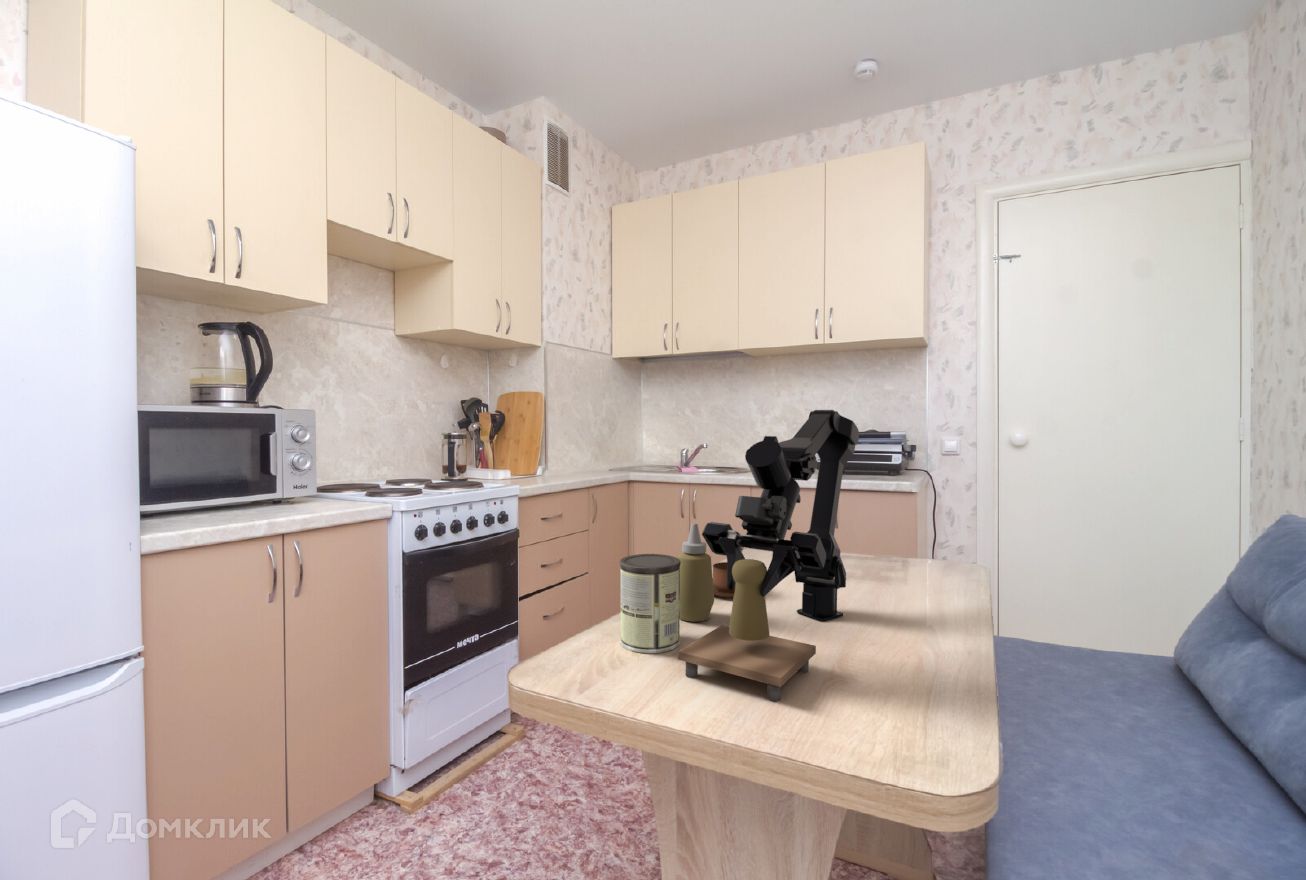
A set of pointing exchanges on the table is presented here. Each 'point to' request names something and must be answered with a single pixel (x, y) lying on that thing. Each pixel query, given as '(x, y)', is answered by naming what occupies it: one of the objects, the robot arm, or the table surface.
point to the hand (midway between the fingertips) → (745, 591)
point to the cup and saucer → (721, 581)
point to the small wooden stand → (749, 658)
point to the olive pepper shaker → (749, 601)
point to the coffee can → (650, 603)
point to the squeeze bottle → (695, 579)
